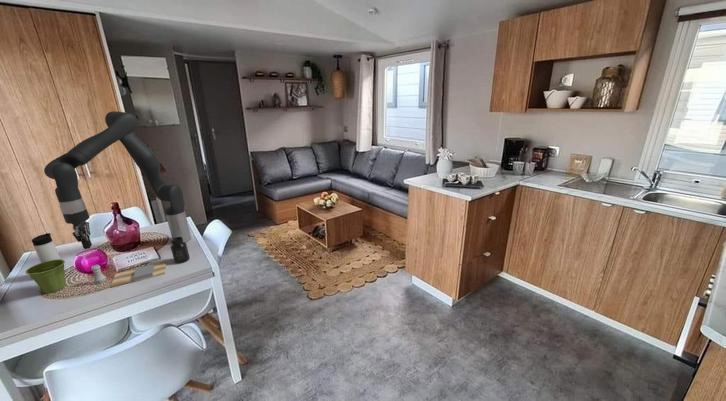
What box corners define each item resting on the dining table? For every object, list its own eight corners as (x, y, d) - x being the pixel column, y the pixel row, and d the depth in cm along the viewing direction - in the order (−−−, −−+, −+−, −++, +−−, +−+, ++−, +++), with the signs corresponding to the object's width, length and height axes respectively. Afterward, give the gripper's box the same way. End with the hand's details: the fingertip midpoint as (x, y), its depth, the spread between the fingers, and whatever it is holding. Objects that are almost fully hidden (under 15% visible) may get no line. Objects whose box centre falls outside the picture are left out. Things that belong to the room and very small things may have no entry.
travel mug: (69, 271, 143) (54, 233, 136) (52, 278, 137) (35, 240, 131) (61, 269, 145) (45, 232, 138) (44, 276, 139) (27, 238, 133)
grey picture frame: (135, 268, 139) (133, 277, 132) (153, 264, 143) (151, 272, 135) (136, 271, 140) (134, 280, 132) (154, 266, 143) (152, 275, 136)
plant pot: (40, 300, 122) (29, 277, 118) (32, 291, 128) (21, 269, 124) (77, 285, 131) (68, 263, 128) (68, 277, 137) (59, 256, 134)
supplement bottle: (193, 256, 153) (187, 235, 149) (184, 263, 146) (178, 242, 142) (180, 256, 153) (175, 235, 149) (171, 263, 147) (165, 241, 143)
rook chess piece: (99, 279, 136) (93, 263, 133) (109, 278, 136) (104, 263, 133) (91, 284, 132) (85, 269, 129) (102, 284, 132) (96, 268, 129)
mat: (115, 274, 139) (115, 273, 138) (166, 262, 148) (165, 261, 148) (110, 288, 129) (110, 286, 128) (164, 274, 138) (164, 272, 138)
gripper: (67, 207, 126) (81, 243, 132) (56, 217, 115) (71, 256, 121) (90, 203, 130) (102, 239, 135) (81, 213, 119) (95, 251, 124)
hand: (88, 247), depth 128 cm, fingers closed
